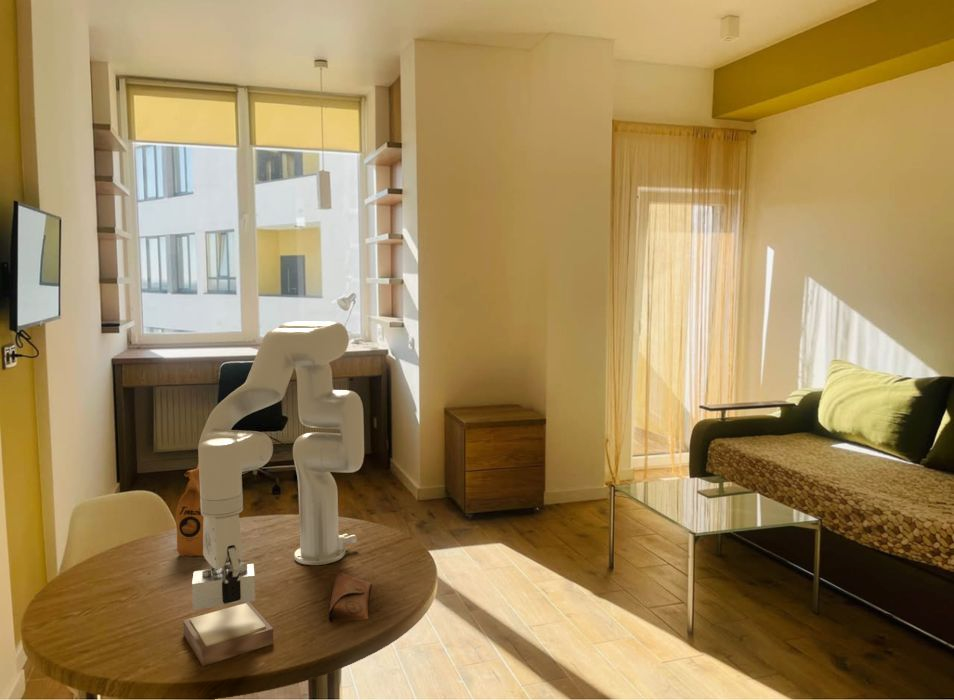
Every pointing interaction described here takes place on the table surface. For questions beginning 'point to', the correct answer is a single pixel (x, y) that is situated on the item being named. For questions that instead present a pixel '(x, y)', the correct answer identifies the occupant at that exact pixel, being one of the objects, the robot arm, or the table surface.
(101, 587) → the table surface
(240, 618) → the stand
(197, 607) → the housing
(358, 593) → the sunglasses case
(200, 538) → the coffee package
